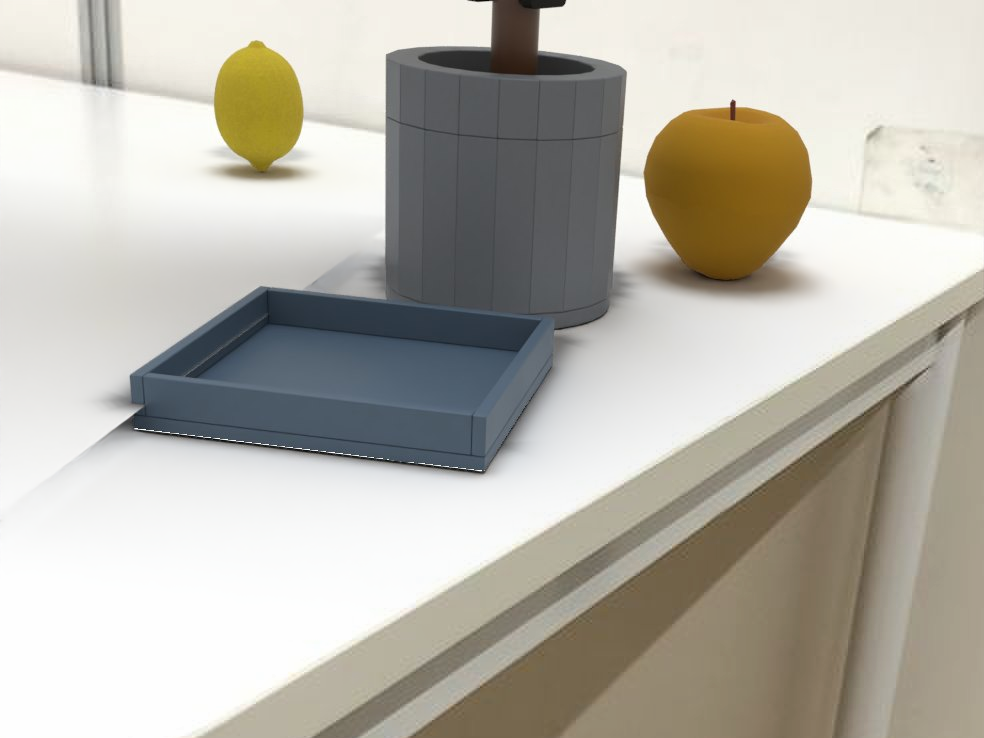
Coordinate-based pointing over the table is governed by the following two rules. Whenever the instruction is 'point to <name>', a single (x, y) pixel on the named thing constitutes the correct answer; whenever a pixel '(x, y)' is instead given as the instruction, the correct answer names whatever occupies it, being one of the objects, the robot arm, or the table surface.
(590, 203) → the jar
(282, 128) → the lemon
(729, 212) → the apple
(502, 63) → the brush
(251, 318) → the tray
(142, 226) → the table surface
